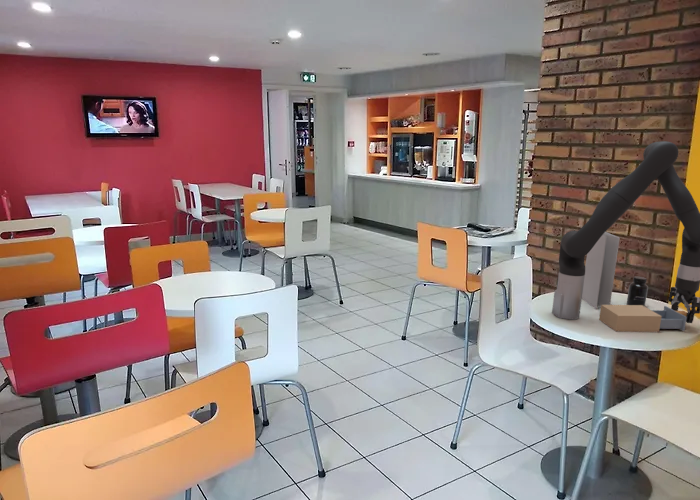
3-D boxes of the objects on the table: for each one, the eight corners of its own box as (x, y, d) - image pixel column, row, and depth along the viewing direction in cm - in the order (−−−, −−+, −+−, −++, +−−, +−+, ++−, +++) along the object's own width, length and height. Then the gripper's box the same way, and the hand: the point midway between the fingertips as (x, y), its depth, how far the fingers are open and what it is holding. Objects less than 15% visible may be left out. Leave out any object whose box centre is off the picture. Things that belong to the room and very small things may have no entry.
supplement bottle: (637, 308, 212) (641, 280, 209) (622, 303, 218) (626, 276, 215) (648, 306, 214) (653, 279, 212) (634, 301, 220) (638, 274, 218)
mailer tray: (641, 330, 186) (643, 316, 185) (623, 318, 198) (625, 305, 197) (695, 331, 187) (697, 317, 186) (673, 319, 199) (676, 306, 197)
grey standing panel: (609, 309, 209) (619, 237, 203) (596, 309, 209) (605, 237, 203) (593, 298, 223) (603, 230, 217) (581, 298, 223) (590, 230, 217)
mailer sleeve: (615, 331, 186) (618, 315, 185) (599, 319, 198) (601, 304, 196) (659, 331, 186) (661, 316, 185) (639, 320, 198) (642, 305, 197)
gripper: (666, 271, 195) (659, 311, 199) (692, 282, 181) (684, 325, 185) (685, 271, 196) (678, 312, 199) (712, 282, 182) (704, 325, 185)
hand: (681, 318), depth 192 cm, fingers open, 8 cm apart
